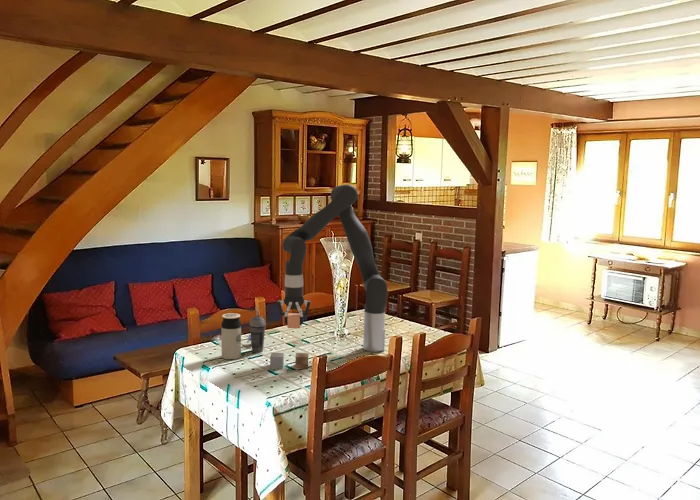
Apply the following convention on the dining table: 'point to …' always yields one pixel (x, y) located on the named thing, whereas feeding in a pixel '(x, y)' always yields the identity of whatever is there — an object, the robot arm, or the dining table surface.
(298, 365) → the walnut block
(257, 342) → the beverage cup
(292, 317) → the terracotta block
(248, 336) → the geometric puzzle
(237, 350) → the travel mug
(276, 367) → the slate block
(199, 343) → the dining table surface
